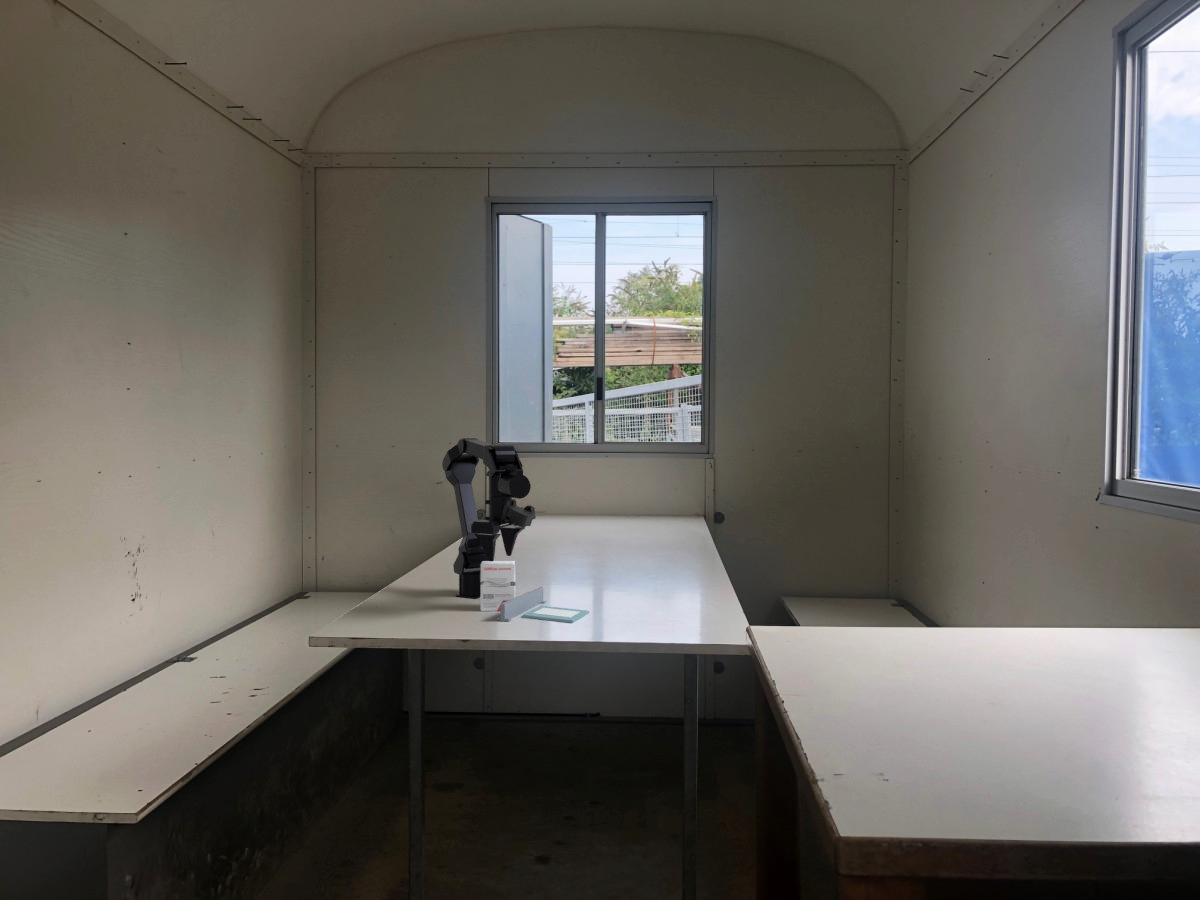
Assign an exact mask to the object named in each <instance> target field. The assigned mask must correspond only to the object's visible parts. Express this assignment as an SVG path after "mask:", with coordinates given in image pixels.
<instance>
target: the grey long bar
mask: <svg viewBox="0 0 1200 900" xmlns="http://www.w3.org/2000/svg"><path fill="white" fill-rule="evenodd" d="M546 603H547V601H546V600H544V587H542V586H538V587H537V588H535V589H531V590H530V591H528V592H525V593H522V594H521V595H518V596H515V598H513V599H511V600H509V601H506V602H504V603H502V604H501V611H500V616H499V617H497V621H499V622H511V621H512V619H513V618H515V617H517V616H519V615H521V614H524V613H526V612H528V611H529V610H531V609H532V608H533V609H534V607H536V606H538V605H540V604H543V605H544V604H546Z"/></svg>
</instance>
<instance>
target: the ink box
mask: <svg viewBox="0 0 1200 900" xmlns="http://www.w3.org/2000/svg"><path fill="white" fill-rule="evenodd" d="M513 598H516V561H515V560H494V561H482V562H481V577H480V598H479V600H480V601H479V602H480V603H479V604H480V606H479V609H480V611H481V612H498V611H499V612H501V604H502V603H504V602H506V601H509V600H511V599H513Z"/></svg>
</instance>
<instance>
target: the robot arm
mask: <svg viewBox="0 0 1200 900" xmlns="http://www.w3.org/2000/svg"><path fill="white" fill-rule="evenodd" d="M480 460H482V463H483V465H484V466H486V467H487V469H488V471H486V472H485V473H486V474H485V476H486V477H488V499H485V500H484V501H485V502H484V503H485V504H484V505H488V515H486V516H485V517H484V519H480V520H479V518H478V517H479V516H478V511H477V507H476V501H475V495H474V489H473V483H472V482H473V480H474V477H475V474H476V467H477V465H478V464H479V462H480ZM441 464H442V469H443V471H444V474H445V479H446V480H447V481H448V482H449V483H450V485H451V486H452V487H453V488H454V495H455V501H456V506H457V514H458V519H459V523H460V524H459V525H460V530H461V536H462V539H461V541H460V544H459V547H458V548H457V549H458V554H457V556H456V559H455V561H454V563H453V564H452V565H453V572H454V574H457V575H458V593H456V594H455V597H456V598H465V599H474V600H475V599H480V577H481V562H482V561H495V554H496V543H497V540H498V538H499V537H500V536H501V538H502V543H503V546H504V547H503V548H504V551H505V555H506V556H508V557H511V556H512V554H513V551H514V549H515V548H514V547H515V543H516V542H517V539H518V538H517V537H518V536H519V534H520V533H522V531H524V530H525V528H526V527H531V525H532V522H533V520H536V510H535V509H536V508H535V506H533V505H531V504H529V505H526V506H525V507H524V506H521V507H520V506H518V505H517V501H516V499H524V498H525V497H528V495H529V493H530V492H531V488H532V487H531V485H532V484H531V481H530V480H529V477H527V476H526V475H524V469H523V463H522V462H521V459H520V457H519V454H518V452H517V450H516V447H515V446H514V445H513V444H492V443H489V442H486V441H483V440H480V439H479V438H477V437H473V438H472V437H463V438H460V439H459V440H458V441H457V444H455V445H454V446H452V447H451V448H450V449H448V450H447V451H446V454H445V455H444V457H443V459H442V463H441Z"/></svg>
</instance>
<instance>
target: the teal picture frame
mask: <svg viewBox="0 0 1200 900" xmlns="http://www.w3.org/2000/svg"><path fill="white" fill-rule="evenodd" d="M589 614H590V610H586V609H577V608H566V607H557V606H547V605H540V606H538V607H536V608H533V609H532V610H531V609H530V611H529V610H528V611H526V612H524V613H522V615H521V616H522V618H526V619H534V620H542V621H552V622H559V623H569V624H573V623H575V622H577V621H578V620H580V619H582V618H584V617H586V616H587V615H589Z"/></svg>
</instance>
